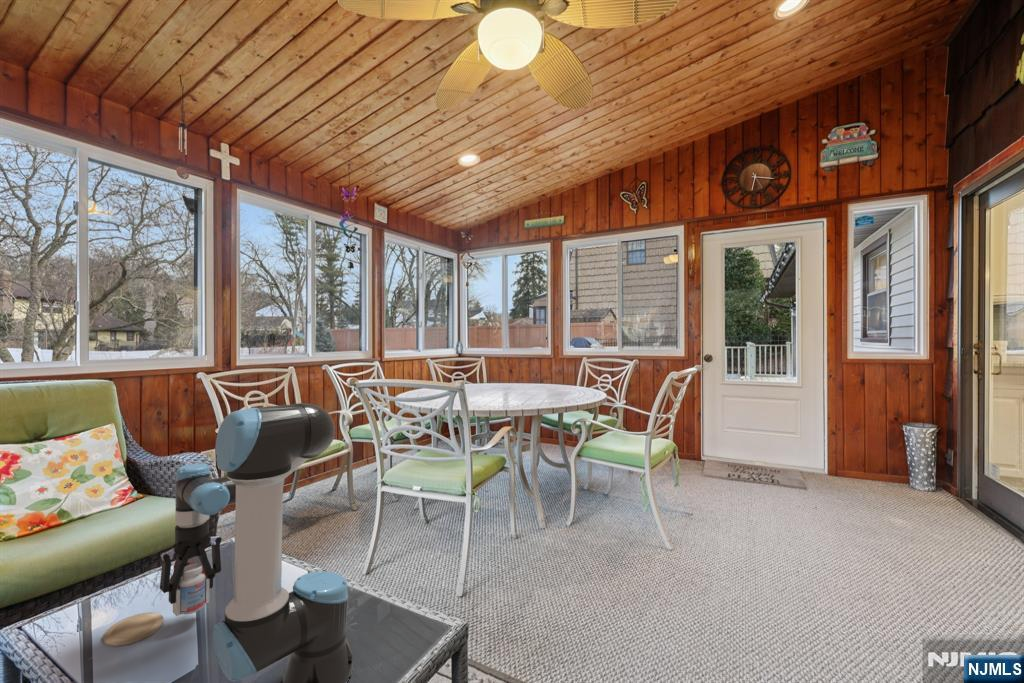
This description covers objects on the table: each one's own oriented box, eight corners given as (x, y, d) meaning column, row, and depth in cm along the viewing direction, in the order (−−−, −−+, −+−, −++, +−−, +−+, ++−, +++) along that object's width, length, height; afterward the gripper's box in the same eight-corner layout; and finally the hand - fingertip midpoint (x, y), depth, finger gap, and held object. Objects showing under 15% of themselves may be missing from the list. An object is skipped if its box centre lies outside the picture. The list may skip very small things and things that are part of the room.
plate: (169, 627, 118) (170, 624, 118) (110, 653, 108) (110, 649, 108) (154, 609, 125) (154, 606, 125) (97, 632, 115) (97, 628, 115)
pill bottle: (190, 617, 116) (191, 574, 116) (171, 613, 117) (171, 571, 117) (210, 603, 122) (211, 563, 122) (192, 600, 123) (192, 560, 123)
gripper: (225, 508, 129) (224, 586, 130) (143, 530, 114) (142, 619, 114) (237, 514, 125) (235, 595, 125) (153, 538, 110) (152, 631, 110)
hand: (191, 607), depth 120 cm, fingers closed on pill bottle, 6 cm apart
